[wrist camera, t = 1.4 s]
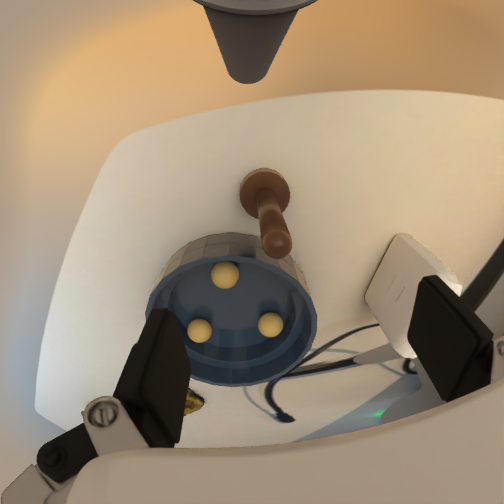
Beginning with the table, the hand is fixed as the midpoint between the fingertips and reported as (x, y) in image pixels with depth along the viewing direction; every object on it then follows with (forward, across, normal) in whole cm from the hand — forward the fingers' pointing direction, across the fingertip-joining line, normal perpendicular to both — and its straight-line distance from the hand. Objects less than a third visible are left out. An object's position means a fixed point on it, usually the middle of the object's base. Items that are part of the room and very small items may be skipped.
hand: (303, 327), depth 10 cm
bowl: (+22, +5, +13) cm, 26 cm away
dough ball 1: (+20, +10, +15) cm, 27 cm away
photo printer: (+22, -15, +11) cm, 28 cm away
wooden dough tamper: (+21, 0, 0) cm, 21 cm away
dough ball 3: (+20, +1, +15) cm, 25 cm away
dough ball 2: (+19, +5, +8) cm, 22 cm away
